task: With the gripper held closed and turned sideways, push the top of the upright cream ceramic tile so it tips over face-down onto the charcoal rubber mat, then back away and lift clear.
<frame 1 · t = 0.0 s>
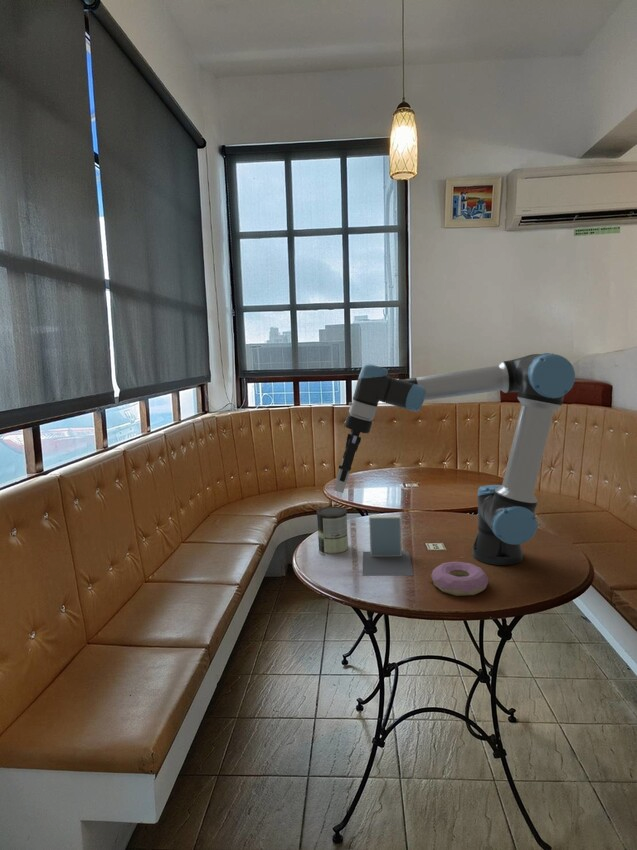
hand: (339, 485, 149), 28 cm above the table, tool tilted 20°, fingers open, 13 cm apart
donut: (459, 587, 142), on the table
tile: (385, 554, 165), point 1 cm above the table, touching mat
mat: (386, 565, 158), on the table
coffee can: (333, 551, 173), on the table
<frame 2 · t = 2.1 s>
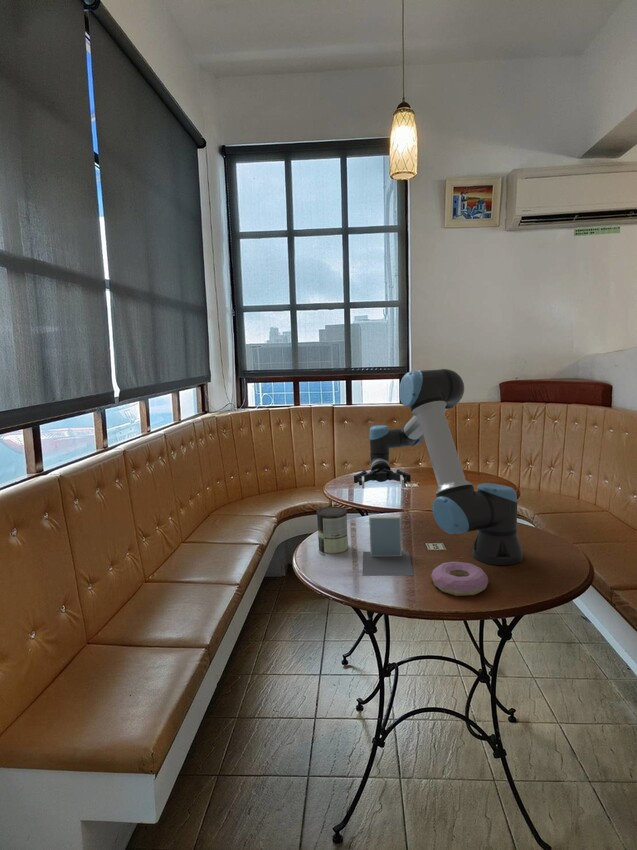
hand: (382, 484, 171), 22 cm above the table, tool horizontal, fingers open, 13 cm apart
nothing on the table moved.
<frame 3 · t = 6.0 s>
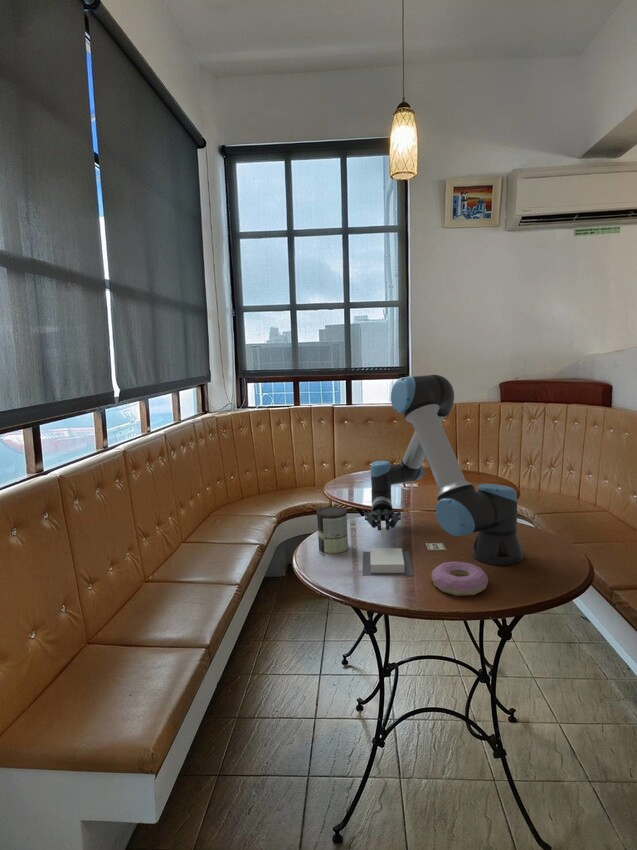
hand: (383, 531, 160), 10 cm above the table, tool horizontal, fingers closed
tile: (386, 552, 163), point 2 cm above the table, tilted 90°, touching mat
everything else where it was.
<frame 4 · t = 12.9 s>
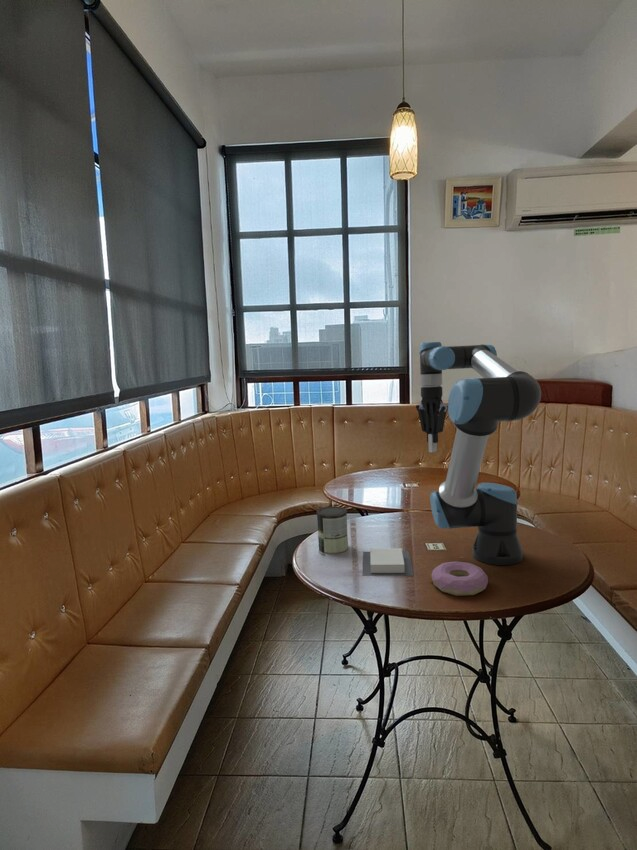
hand: (432, 451, 182), 30 cm above the table, tool pointing down, fingers closed
nothing on the table moved.
at the end: tile tilted 90°; tile inside the target area (0.8 cm from its centre), point 2.2 cm above the table; tile touching mat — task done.
